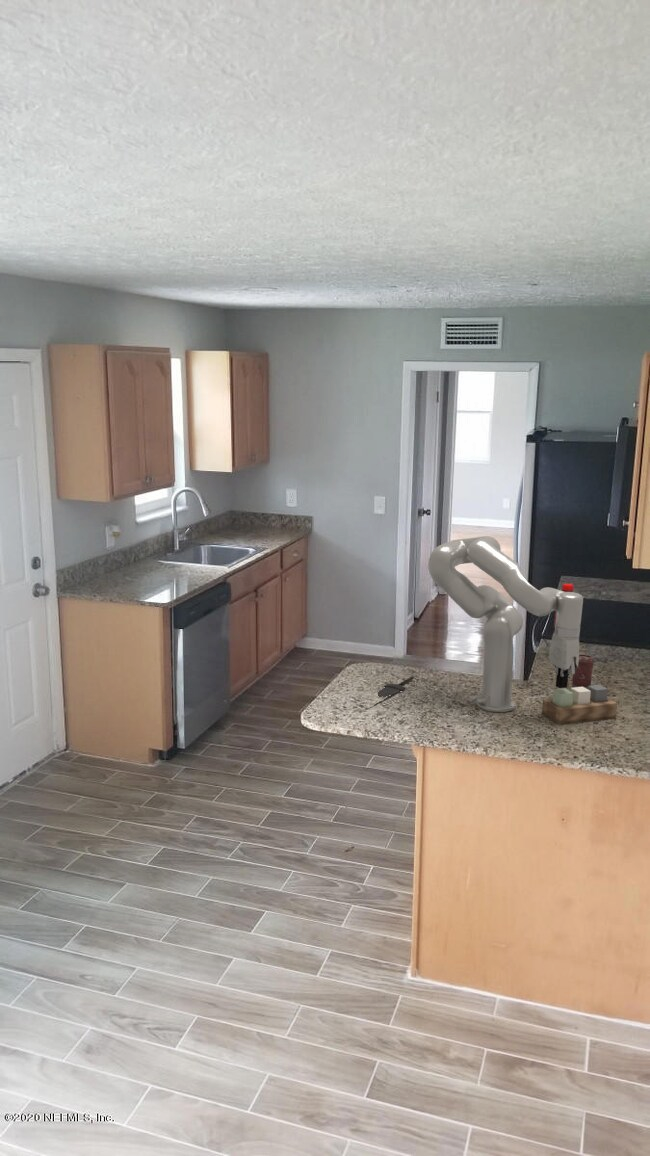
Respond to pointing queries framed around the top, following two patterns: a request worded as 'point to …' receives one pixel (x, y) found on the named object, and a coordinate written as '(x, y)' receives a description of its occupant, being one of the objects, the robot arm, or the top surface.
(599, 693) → the key charcoal
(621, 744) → the top surface
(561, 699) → the key sage
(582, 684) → the can
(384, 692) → the black spatula
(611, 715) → the brown wooden block rack
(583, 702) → the key ivory
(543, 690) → the top surface
